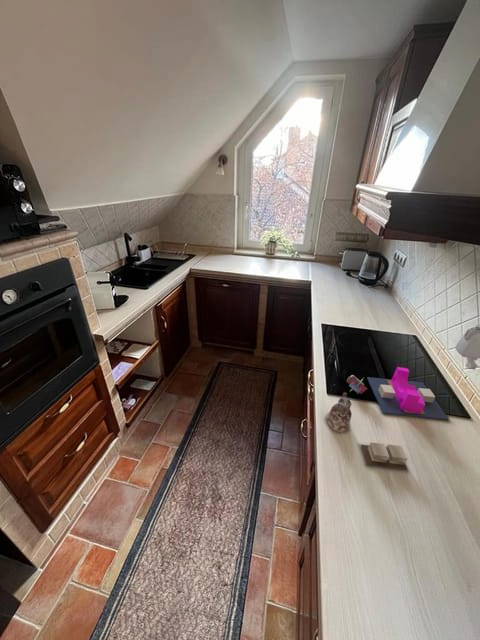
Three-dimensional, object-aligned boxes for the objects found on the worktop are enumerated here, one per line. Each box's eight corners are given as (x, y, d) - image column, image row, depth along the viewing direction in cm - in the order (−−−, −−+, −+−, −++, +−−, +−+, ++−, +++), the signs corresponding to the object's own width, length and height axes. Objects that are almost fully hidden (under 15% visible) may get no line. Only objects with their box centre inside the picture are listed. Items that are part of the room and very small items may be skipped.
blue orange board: (422, 383, 104) (425, 376, 102) (448, 420, 88) (453, 413, 86) (366, 378, 106) (369, 371, 104) (382, 413, 90) (385, 406, 88)
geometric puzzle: (373, 388, 98) (364, 370, 97) (367, 399, 93) (358, 379, 93) (355, 389, 103) (347, 372, 102) (348, 399, 98) (340, 380, 98)
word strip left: (397, 450, 78) (402, 443, 76) (406, 470, 73) (411, 462, 71) (360, 446, 79) (364, 438, 77) (367, 465, 74) (370, 457, 72)
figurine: (325, 426, 85) (332, 401, 79) (328, 411, 91) (335, 386, 84) (347, 435, 82) (357, 409, 76) (349, 418, 88) (358, 394, 82)
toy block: (420, 413, 89) (428, 398, 86) (400, 409, 91) (408, 394, 87) (408, 384, 102) (415, 369, 98) (391, 380, 103) (397, 366, 100)
